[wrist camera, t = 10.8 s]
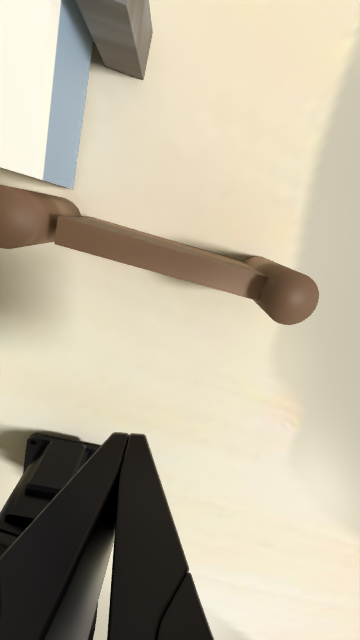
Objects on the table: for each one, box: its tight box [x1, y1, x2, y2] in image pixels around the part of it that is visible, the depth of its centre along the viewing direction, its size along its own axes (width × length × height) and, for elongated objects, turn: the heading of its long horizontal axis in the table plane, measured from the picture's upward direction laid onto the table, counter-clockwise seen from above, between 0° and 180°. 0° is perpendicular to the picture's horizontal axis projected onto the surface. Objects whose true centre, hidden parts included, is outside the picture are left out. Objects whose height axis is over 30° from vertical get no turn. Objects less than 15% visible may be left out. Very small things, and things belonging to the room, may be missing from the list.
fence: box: [0, 0, 319, 325], centre depth 13 cm, size 11×15×6 cm
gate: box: [0, 0, 93, 189], centre depth 11 cm, size 2×12×5 cm, turn 164°
